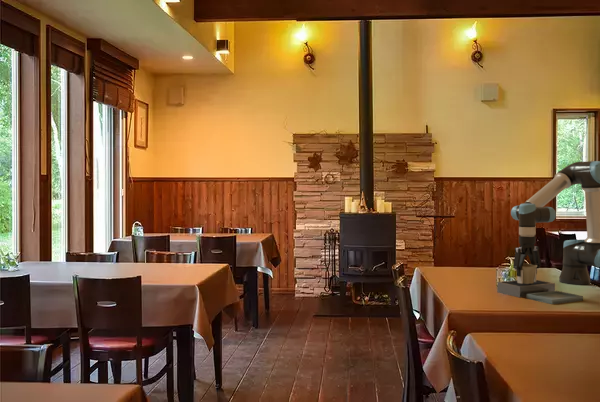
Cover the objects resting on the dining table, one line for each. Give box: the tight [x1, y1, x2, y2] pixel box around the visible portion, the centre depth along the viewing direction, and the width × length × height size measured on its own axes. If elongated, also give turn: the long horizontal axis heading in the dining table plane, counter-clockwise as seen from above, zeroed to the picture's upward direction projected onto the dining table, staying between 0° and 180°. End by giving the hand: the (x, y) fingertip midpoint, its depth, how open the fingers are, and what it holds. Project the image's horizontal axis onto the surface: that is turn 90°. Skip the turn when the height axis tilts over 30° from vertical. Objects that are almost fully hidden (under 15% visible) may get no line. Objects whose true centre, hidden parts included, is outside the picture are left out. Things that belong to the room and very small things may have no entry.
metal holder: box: [496, 279, 556, 298], centre depth 275 cm, size 23×14×5 cm, turn 116°
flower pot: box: [521, 263, 537, 284], centre depth 275 cm, size 9×9×9 cm
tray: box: [526, 290, 584, 305], centre depth 261 cm, size 20×14×2 cm
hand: (526, 282), depth 275 cm, fingers closed on flower pot, 8 cm apart
